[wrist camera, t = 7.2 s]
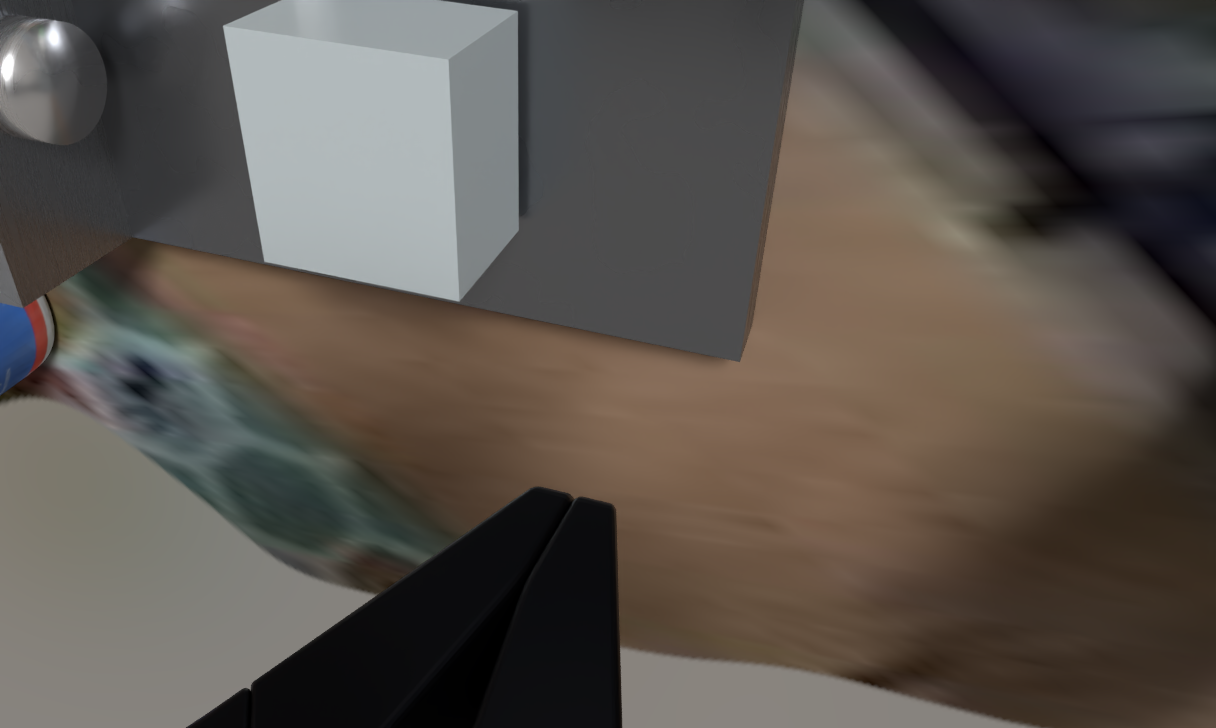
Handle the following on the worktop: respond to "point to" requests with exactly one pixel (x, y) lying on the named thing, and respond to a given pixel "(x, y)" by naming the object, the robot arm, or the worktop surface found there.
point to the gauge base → (547, 154)
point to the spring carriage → (381, 137)
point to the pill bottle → (24, 340)
